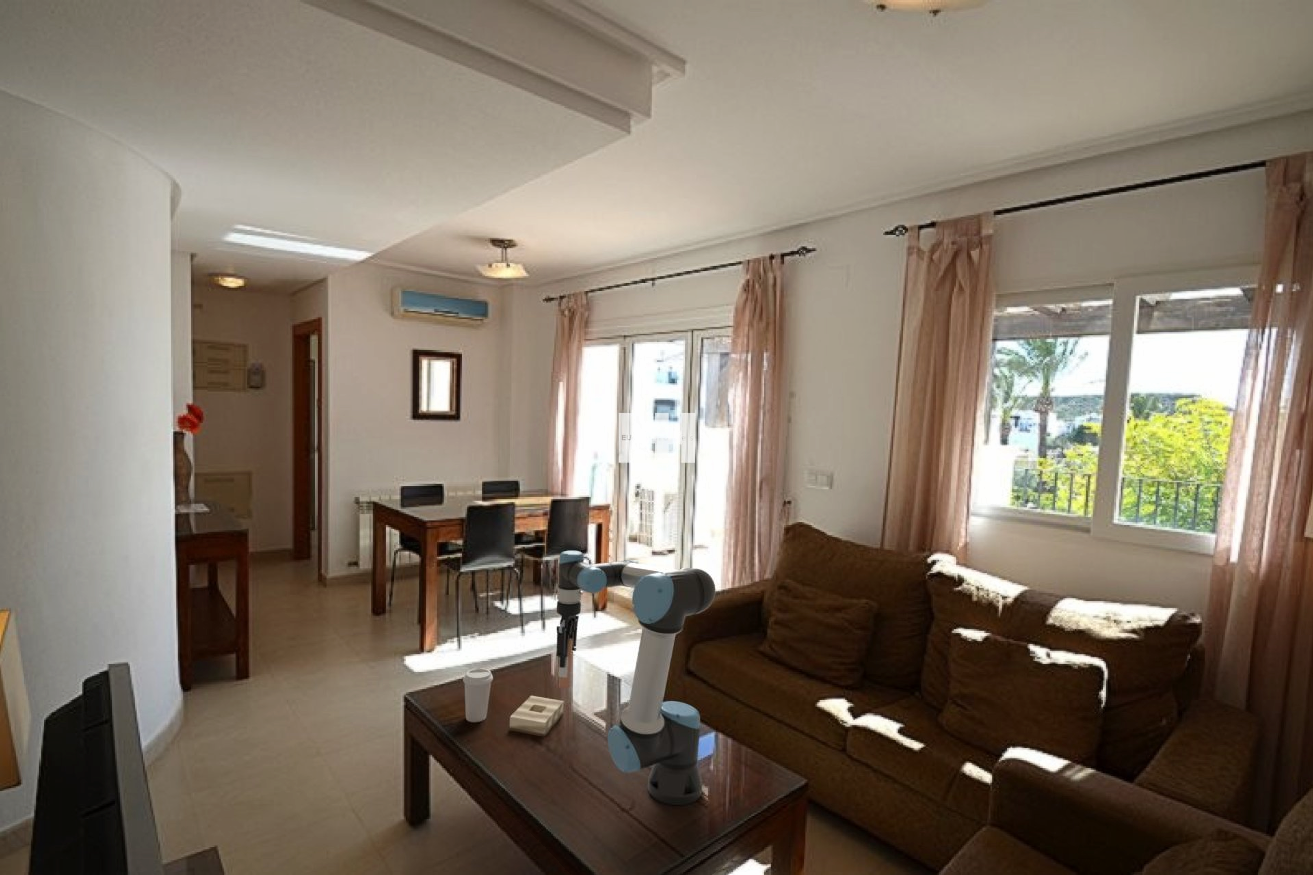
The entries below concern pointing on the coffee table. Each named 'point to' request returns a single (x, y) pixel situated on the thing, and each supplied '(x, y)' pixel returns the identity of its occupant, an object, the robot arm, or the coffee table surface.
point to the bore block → (536, 716)
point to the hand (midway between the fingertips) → (565, 673)
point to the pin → (563, 681)
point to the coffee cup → (477, 693)
